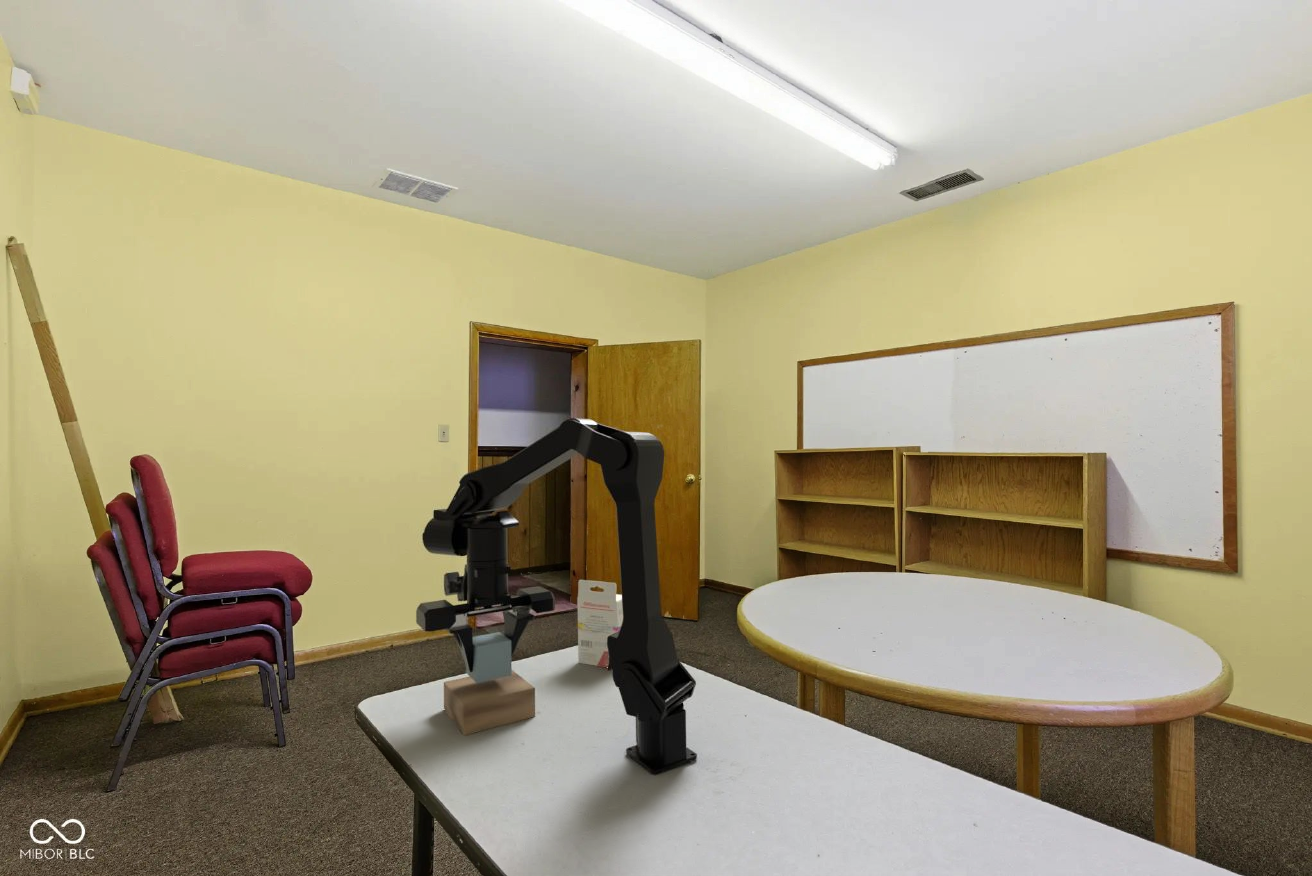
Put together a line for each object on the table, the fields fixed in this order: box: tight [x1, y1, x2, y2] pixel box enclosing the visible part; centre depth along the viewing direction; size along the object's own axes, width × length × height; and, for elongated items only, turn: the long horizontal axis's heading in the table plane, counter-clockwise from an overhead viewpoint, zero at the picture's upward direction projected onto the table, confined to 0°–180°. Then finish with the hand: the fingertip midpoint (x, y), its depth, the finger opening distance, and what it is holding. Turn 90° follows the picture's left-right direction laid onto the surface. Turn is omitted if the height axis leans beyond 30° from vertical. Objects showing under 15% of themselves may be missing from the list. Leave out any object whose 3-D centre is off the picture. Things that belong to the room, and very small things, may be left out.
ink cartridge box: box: [576, 579, 623, 668], centre depth 111 cm, size 9×5×15 cm, turn 62°
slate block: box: [465, 631, 513, 683], centre depth 90 cm, size 5×5×5 cm
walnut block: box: [443, 669, 536, 736], centre depth 90 cm, size 10×10×4 cm
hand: (488, 667), depth 90 cm, fingers closed on slate block, 5 cm apart
